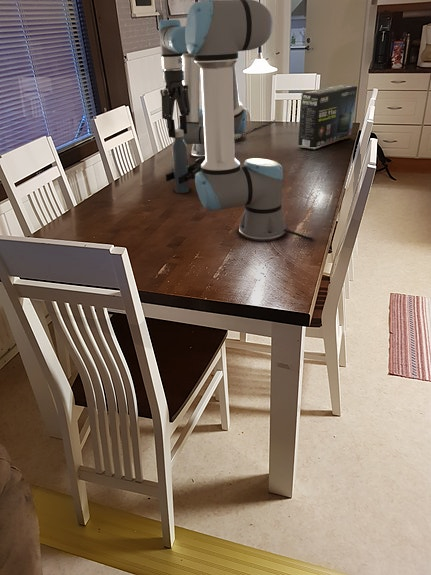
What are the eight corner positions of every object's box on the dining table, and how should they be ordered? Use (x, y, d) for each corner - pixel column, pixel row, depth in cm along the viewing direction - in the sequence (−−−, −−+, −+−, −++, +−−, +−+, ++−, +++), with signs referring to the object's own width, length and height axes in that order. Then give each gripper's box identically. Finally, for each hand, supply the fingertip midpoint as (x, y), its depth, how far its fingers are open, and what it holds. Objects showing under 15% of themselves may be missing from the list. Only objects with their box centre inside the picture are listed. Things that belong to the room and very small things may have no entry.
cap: (183, 134, 178) (182, 128, 177) (184, 136, 175) (184, 131, 174) (171, 135, 178) (171, 129, 177) (173, 137, 174) (172, 132, 173)
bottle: (187, 193, 185) (183, 133, 173) (174, 193, 185) (168, 133, 173) (190, 188, 190) (186, 130, 178) (176, 188, 190) (172, 130, 178)
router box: (314, 151, 231) (318, 94, 217) (296, 148, 237) (299, 92, 224) (352, 138, 251) (358, 85, 238) (335, 135, 258) (340, 83, 245)
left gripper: (225, 175, 194) (192, 192, 178) (190, 169, 203) (155, 184, 187) (225, 158, 190) (191, 173, 174) (189, 152, 200) (154, 166, 183)
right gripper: (163, 72, 156) (169, 142, 167) (197, 66, 169) (200, 131, 181) (147, 72, 159) (154, 139, 171) (181, 66, 173) (185, 129, 185)
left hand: (173, 179), depth 181 cm, fingers closed on bottle, 6 cm apart
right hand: (178, 135), depth 176 cm, fingers open, 7 cm apart
